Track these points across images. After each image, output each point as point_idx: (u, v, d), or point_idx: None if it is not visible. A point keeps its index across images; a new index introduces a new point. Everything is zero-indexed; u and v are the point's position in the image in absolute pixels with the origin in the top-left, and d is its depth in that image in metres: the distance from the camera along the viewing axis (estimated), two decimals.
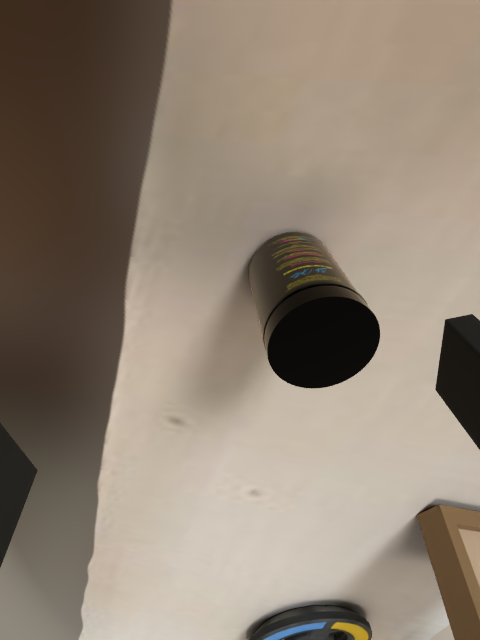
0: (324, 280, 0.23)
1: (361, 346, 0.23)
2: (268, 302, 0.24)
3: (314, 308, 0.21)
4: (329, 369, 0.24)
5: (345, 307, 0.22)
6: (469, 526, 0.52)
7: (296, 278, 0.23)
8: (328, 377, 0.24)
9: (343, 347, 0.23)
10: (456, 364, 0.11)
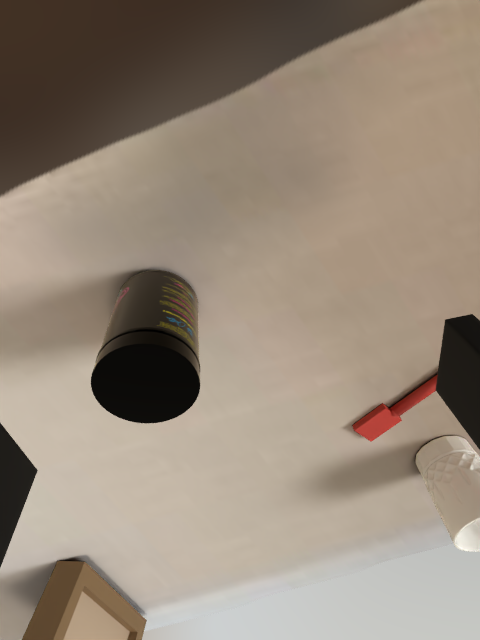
0: (188, 341, 0.25)
1: (169, 407, 0.26)
2: (135, 320, 0.25)
3: (168, 356, 0.23)
4: (131, 405, 0.25)
5: (187, 373, 0.24)
6: (91, 592, 0.54)
7: (171, 322, 0.25)
8: (125, 410, 0.26)
9: (158, 397, 0.25)
10: (456, 364, 0.11)
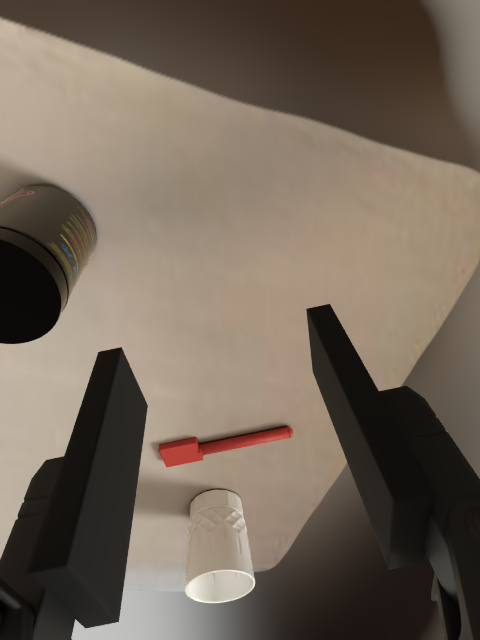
0: (69, 278, 0.23)
1: (6, 329, 0.22)
2: (27, 224, 0.22)
3: (42, 278, 0.21)
4: None
5: (50, 306, 0.22)
6: None
7: (62, 250, 0.23)
8: None
9: (0, 313, 0.22)
10: (315, 347, 0.12)
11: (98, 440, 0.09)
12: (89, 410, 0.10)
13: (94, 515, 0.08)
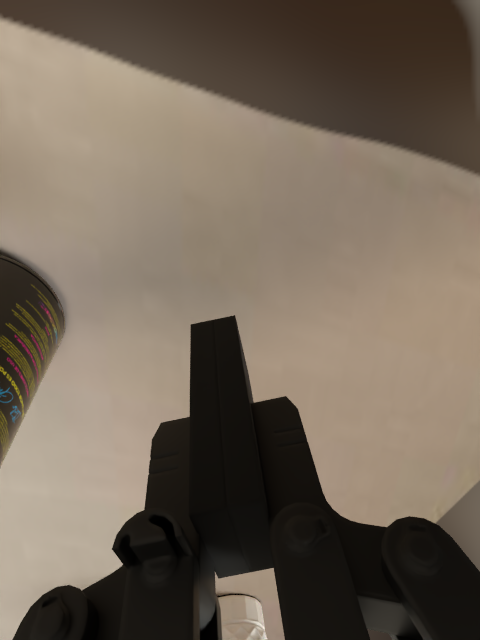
0: None
1: None
2: None
3: None
4: None
5: None
6: None
7: None
8: None
9: None
10: None
11: (219, 400, 0.10)
12: (200, 375, 0.11)
13: None
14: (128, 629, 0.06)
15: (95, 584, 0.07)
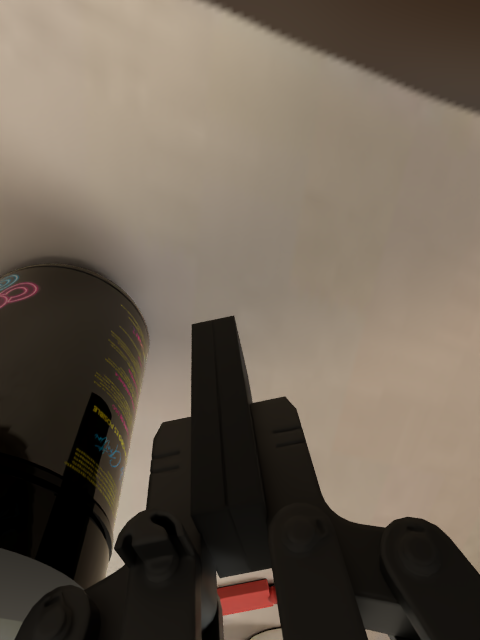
0: (112, 518, 0.10)
1: None
2: (15, 414, 0.09)
3: (50, 588, 0.08)
4: None
5: None
6: None
7: (99, 456, 0.10)
8: None
9: None
10: None
11: (220, 400, 0.10)
12: (201, 375, 0.11)
13: None
14: (130, 629, 0.06)
15: (97, 584, 0.07)
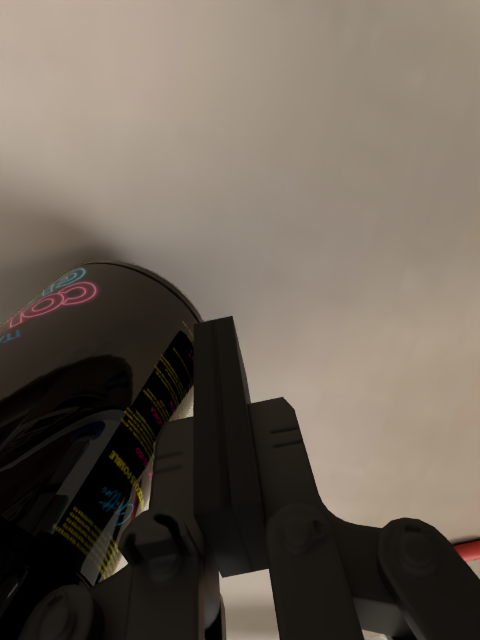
0: None
1: None
2: (17, 454, 0.08)
3: None
4: None
5: None
6: None
7: (101, 515, 0.09)
8: None
9: None
10: None
11: (222, 400, 0.10)
12: (203, 375, 0.11)
13: None
14: (133, 628, 0.06)
15: (99, 583, 0.07)
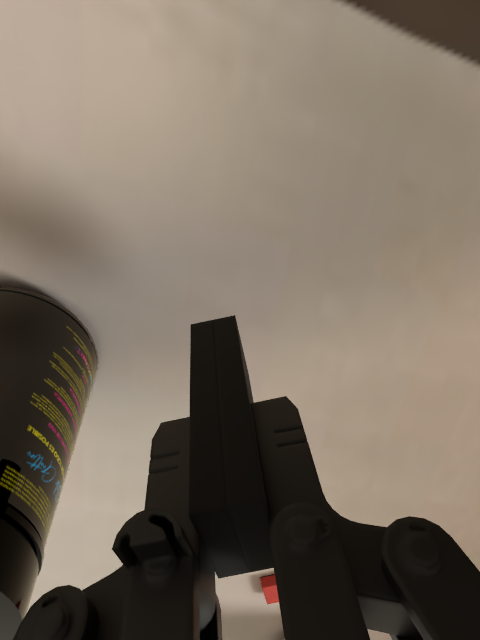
0: (43, 529, 0.11)
1: None
2: None
3: None
4: None
5: None
6: None
7: (30, 472, 0.11)
8: None
9: None
10: None
11: (219, 400, 0.10)
12: (200, 375, 0.11)
13: None
14: (128, 629, 0.06)
15: (95, 584, 0.07)
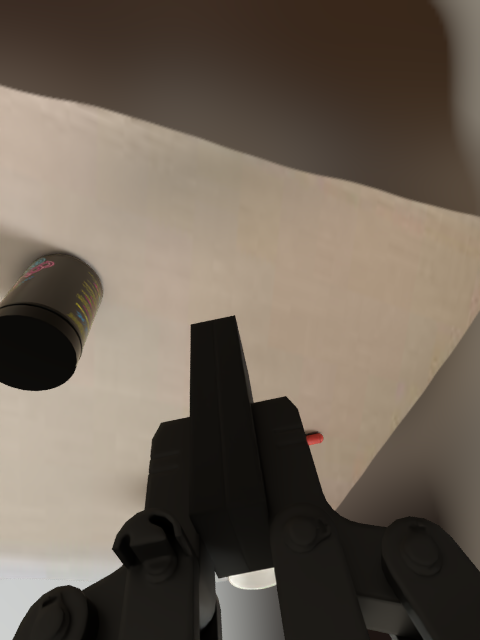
0: (82, 339, 0.29)
1: (31, 380, 0.28)
2: (51, 299, 0.28)
3: (62, 344, 0.27)
4: (0, 363, 0.27)
5: (67, 363, 0.28)
6: None
7: (78, 317, 0.29)
8: None
9: (28, 368, 0.28)
10: None
11: (219, 400, 0.10)
12: (200, 375, 0.11)
13: None
14: (128, 629, 0.06)
15: (95, 584, 0.07)
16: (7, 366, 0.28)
